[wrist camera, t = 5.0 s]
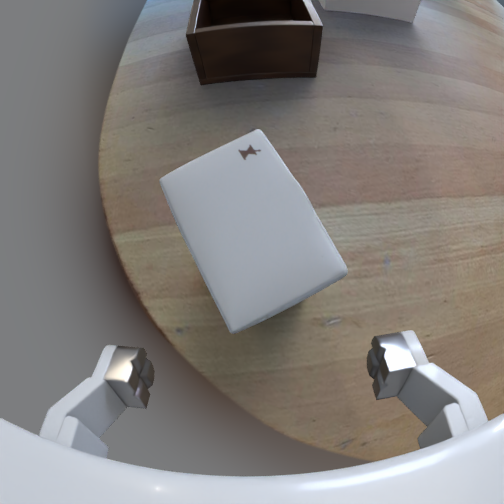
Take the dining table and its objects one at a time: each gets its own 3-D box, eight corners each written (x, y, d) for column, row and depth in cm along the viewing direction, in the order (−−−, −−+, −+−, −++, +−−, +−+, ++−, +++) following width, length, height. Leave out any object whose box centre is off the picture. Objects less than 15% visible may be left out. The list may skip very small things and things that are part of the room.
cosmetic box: (215, 252, 21) (153, 174, 10) (267, 226, 21) (261, 122, 10) (253, 328, 20) (228, 338, 8) (307, 299, 20) (356, 269, 8)
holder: (200, 85, 25) (185, 34, 19) (207, 22, 29) (198, -18, 22) (316, 77, 25) (323, 25, 18) (296, 16, 28) (297, -24, 21)
